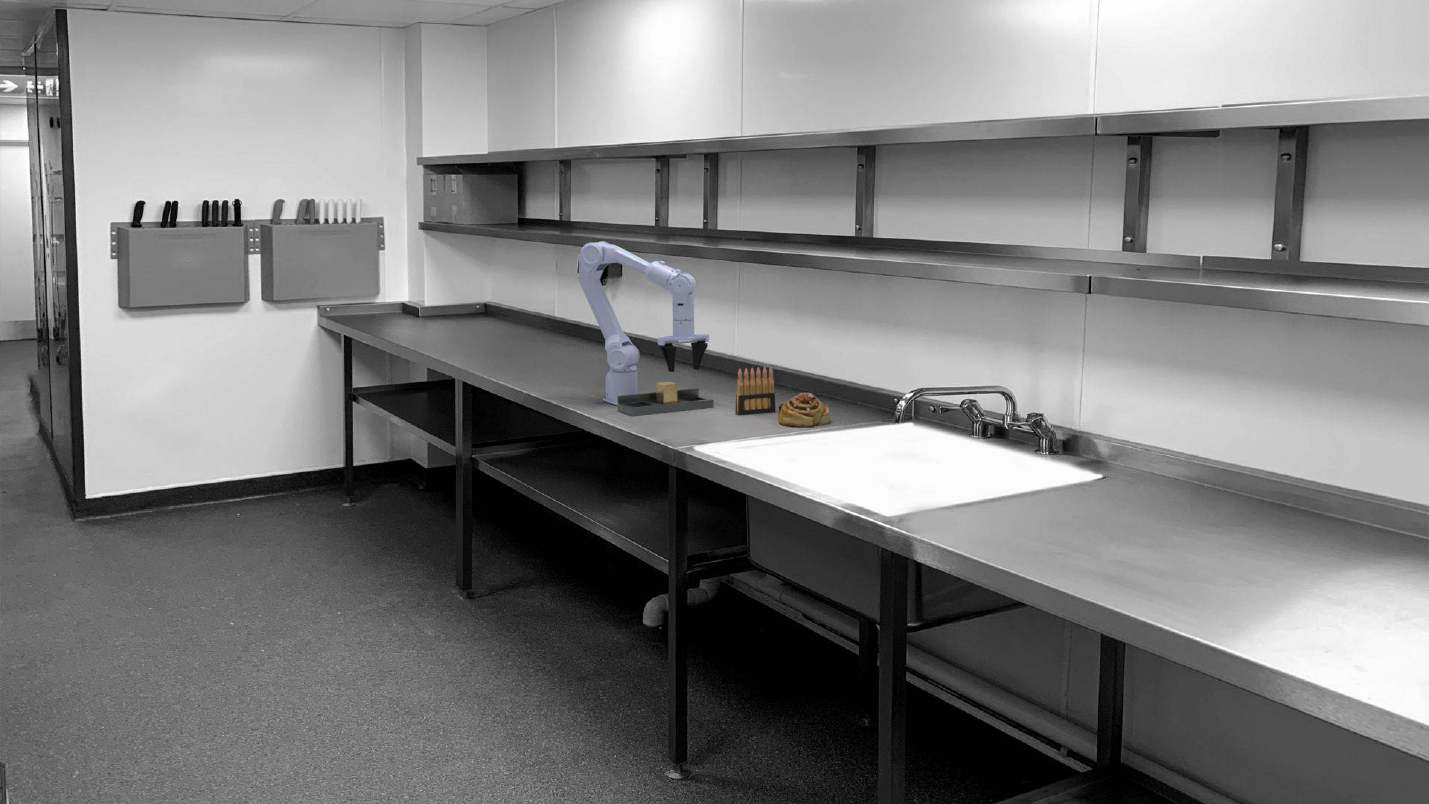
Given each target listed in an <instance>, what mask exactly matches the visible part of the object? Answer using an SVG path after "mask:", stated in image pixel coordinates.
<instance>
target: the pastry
mask: <svg viewBox="0 0 1429 804" xmlns="http://www.w3.org/2000/svg"><path fill="white" fill-rule="evenodd" d="M831 417H832V416H831V412H830V408H829V404H828V403H823V402H822V401H821V400H820V399H819V398H818V397H816V396H815V395H814V394H813V393H812V392H811V393H810V392H800V393H799V394H796V395H795V396H793V397H791V398H790V399H788V400H786V402H784V403H783V402H782V403H781V404H779V405H778V424H779V426H783V427H787V428H795V429H797V428H798V429H799V428H800V429H803V428H804V429H805V428H807V429H810V428H811V429H812V428H813V427H817V426H824V425H828V424H830V422H831Z"/></svg>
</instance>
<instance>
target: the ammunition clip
mask: <svg viewBox="0 0 1429 804" xmlns="http://www.w3.org/2000/svg"><path fill="white" fill-rule="evenodd" d="M749 375H750V376H749ZM776 412H777V410H776V392H775V380H774V370H773V366H770V367H769V370H768V371H767V368H766V366H764V367H763V370H762V375H761V368H760V367H759V366H758V367H757V368H756V373H755V369H754V367H751V369H750V374H749V371H748V368H747V367H745V369H744V373H743V372H742V369H741V368H739V369H738V371H737V382H736V395H735V415H737V416H746V415H748V416H749V415H759V414H768V413H769V414H770V413H771V414H772V413H776Z"/></svg>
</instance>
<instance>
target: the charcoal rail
mask: <svg viewBox="0 0 1429 804" xmlns="http://www.w3.org/2000/svg"><path fill="white" fill-rule="evenodd" d="M617 398H618V405H617V411H618V412H620V413H623V414H626V415H628V416H631V417H635V416H636V417H637V416H646V415H655V414H665V413H673V412H674V413H675V412H680V411H684V412H685V411H692V410H701V409H710V408H714V407H715V406H714V404H715V403H714V399H712V398H708V397H704V396H702V395H699V387H694V388H684V389H683V388H682V389H677V403H670V404H660V403H657V391H654V392H644V393H642V392H641V393H637V394H632V395H622V396H617Z"/></svg>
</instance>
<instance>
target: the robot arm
mask: <svg viewBox="0 0 1429 804" xmlns="http://www.w3.org/2000/svg"><path fill="white" fill-rule="evenodd" d="M577 259H578V278H577V279H578V283H579V285H580V287H581V289H582V291H583V293H584V296H585V298H586V300H587V302H588V305H589V306H590V307H589V308H591V311H592V314H593V316H594V318H595V320H596V322H597V324H598V327H599V329H600V331H601V333H602V336H603V338H604V340H605V343H604V350H605V351H606V357H607V358H606V360H607V361H606V362H607V365H608V366H609V367H610V368H609V371H607V373H606V375H605V398H603V399H602V401H603V402H606V403H609V404H612V405H615V406H618V398H617V396H622V395H632V394H638V367H637V363H638V362H639V361H640V360H639V359H640V357H641V356H640V355H641V354H640V351H639V349H638V348H637V347H636V345H634V344H633V343H632V341H631V339H630V337H629V336H628V335H627V334H626V333H624V331H623V329H622V326H621V325H620V322H619V319H618V318H617V315H616V313H615V311H614V309H613V306H612V305H611V302H610V300H609V297H608V296H607V293H606V291H605V289H604V287H603V285H602V282H601V278H602V274H603V272H604V270H605V268H606V267H607V266H608V265H610V264H614V263H616V264H620V265H622V266H625V267H627V268H630V269H632V270H635V271H637V272H640V273H641V274H644V275H645V278H646V280H647V281H648V282H650V283H651V284H654V285H656V286H658V287H661V288H663V289H665V290H667V291H669V292H670V293H671V294H672V335H669V336H662V337H661V336H660V337H657V345H658V346H659V349H660V351H661V353H662V354H663V357H664V359H665V362H666V366H667V371H668V372H671V373H675V368H676V367H675V366H676V365H675V364H676V363H675V359H676V351H677V347H676V346H674V345H681V344H690V346H691V351H692V368H693V370H697V371H698V370H700V368H701V363H702V359H703V356H704V355H705V352H706V350H707V348H708V346H709V345H708V343H709V342H710V334H705V333H704V334H703V333H702V334H699V333H698V334H695V302H694V300H695V299H694V298H695V296H694V295H695V294H694V292H695V291H696V288H697V282H696V281H697V280H696V279H695V277H693V275H691V274H690V273H688V272H683V273H682V272H681V271H682V270H680V269H679V268H676V269H674V268H673V267H670V266H668V265H666V262H665V261H663V260H659V261H657V260H655V261H653V262H649V261H647V260H645V259H643V258H641V257H640V256H638V255H635V254H633V253H631V252H629V251H628V250H626V249H625V248H622V247H620V246H618V245H616V244H612V243H609V242H607V241H603V240H602V241H598V242H588V243H585V244H584V245H583V246H582V248H580V252H579V253H578V255H577Z"/></svg>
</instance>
